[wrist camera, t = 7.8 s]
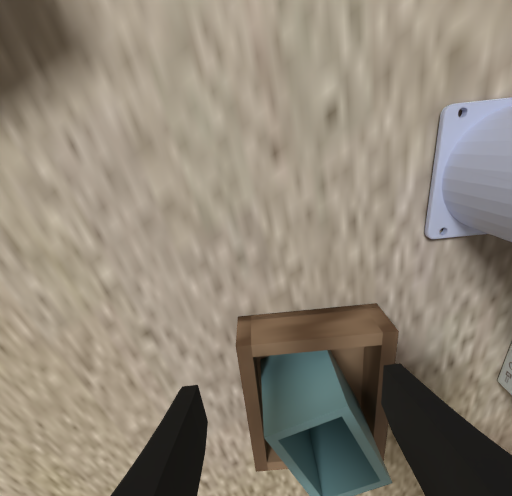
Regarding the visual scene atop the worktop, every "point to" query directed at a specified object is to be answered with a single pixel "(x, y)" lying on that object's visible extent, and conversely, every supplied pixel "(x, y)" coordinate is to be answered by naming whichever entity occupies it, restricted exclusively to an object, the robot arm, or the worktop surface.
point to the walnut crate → (318, 339)
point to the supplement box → (507, 372)
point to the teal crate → (319, 425)
